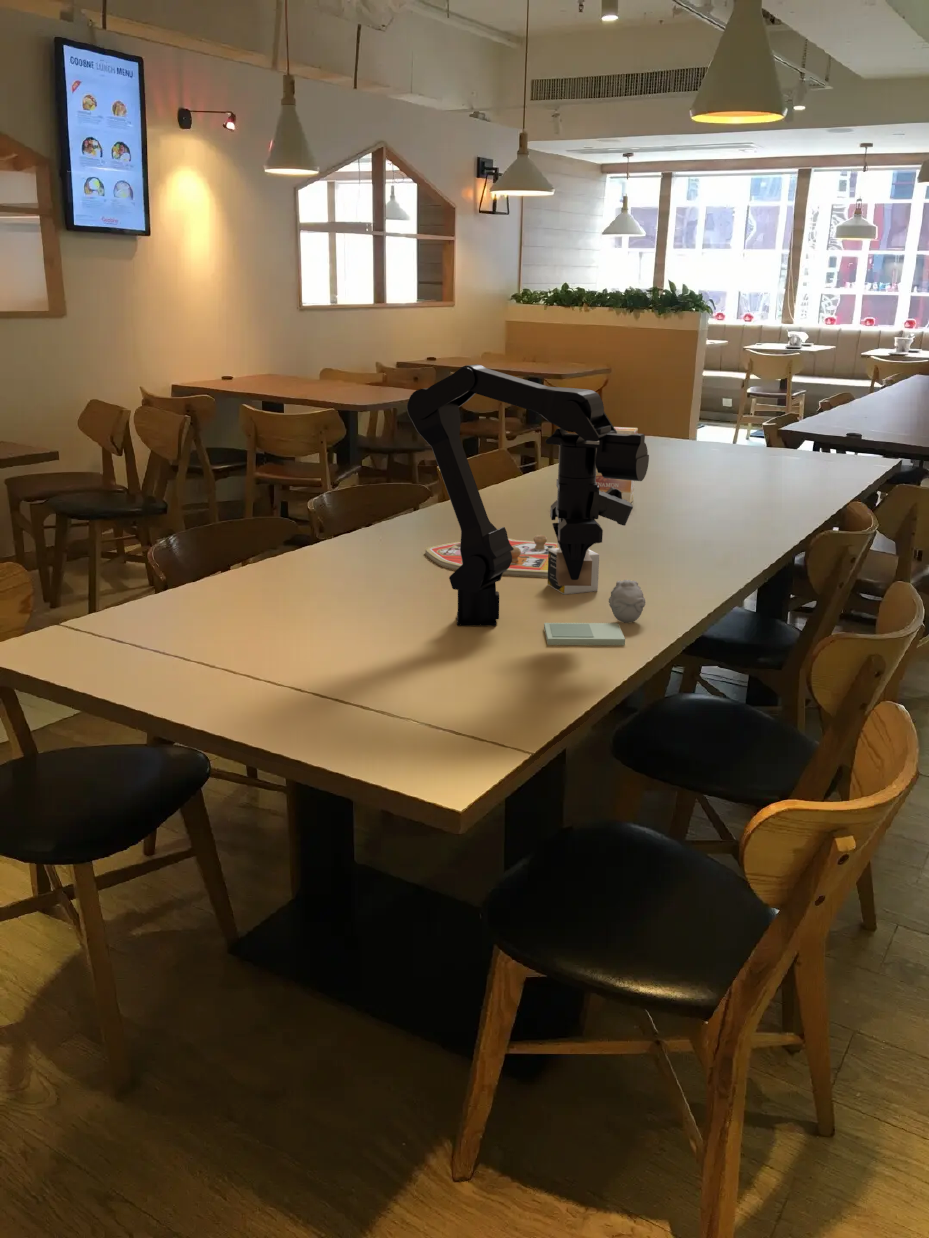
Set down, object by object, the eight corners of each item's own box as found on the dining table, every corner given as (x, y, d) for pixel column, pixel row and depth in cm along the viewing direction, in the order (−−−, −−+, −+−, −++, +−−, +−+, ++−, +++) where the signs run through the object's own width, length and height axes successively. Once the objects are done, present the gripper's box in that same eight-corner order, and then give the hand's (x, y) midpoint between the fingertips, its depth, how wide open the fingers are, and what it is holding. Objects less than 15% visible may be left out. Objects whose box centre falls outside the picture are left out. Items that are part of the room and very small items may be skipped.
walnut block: (558, 585, 152) (559, 560, 151) (555, 577, 157) (556, 552, 156) (591, 585, 152) (592, 560, 151) (587, 577, 157) (588, 552, 156)
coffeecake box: (574, 501, 264) (576, 428, 258) (579, 497, 270) (581, 425, 264) (630, 505, 260) (634, 430, 254) (634, 500, 266) (638, 427, 260)
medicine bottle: (546, 585, 186) (548, 522, 182) (580, 581, 188) (583, 520, 185) (563, 595, 180) (565, 530, 176) (598, 591, 182) (601, 527, 178)
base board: (547, 644, 154) (547, 638, 153) (544, 628, 161) (544, 622, 161) (624, 645, 154) (625, 638, 153) (617, 628, 161) (617, 622, 161)
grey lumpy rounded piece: (639, 615, 168) (642, 575, 166) (648, 628, 162) (651, 587, 160) (604, 615, 168) (606, 575, 166) (611, 628, 162) (613, 587, 159)
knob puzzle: (556, 583, 190) (557, 560, 188) (407, 574, 195) (407, 552, 194) (572, 547, 217) (572, 527, 215) (441, 540, 223) (441, 521, 221)
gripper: (640, 487, 141) (634, 592, 145) (621, 466, 158) (616, 560, 163) (562, 486, 141) (558, 591, 145) (551, 465, 158) (548, 559, 163)
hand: (572, 574), depth 154 cm, fingers closed on walnut block, 5 cm apart
